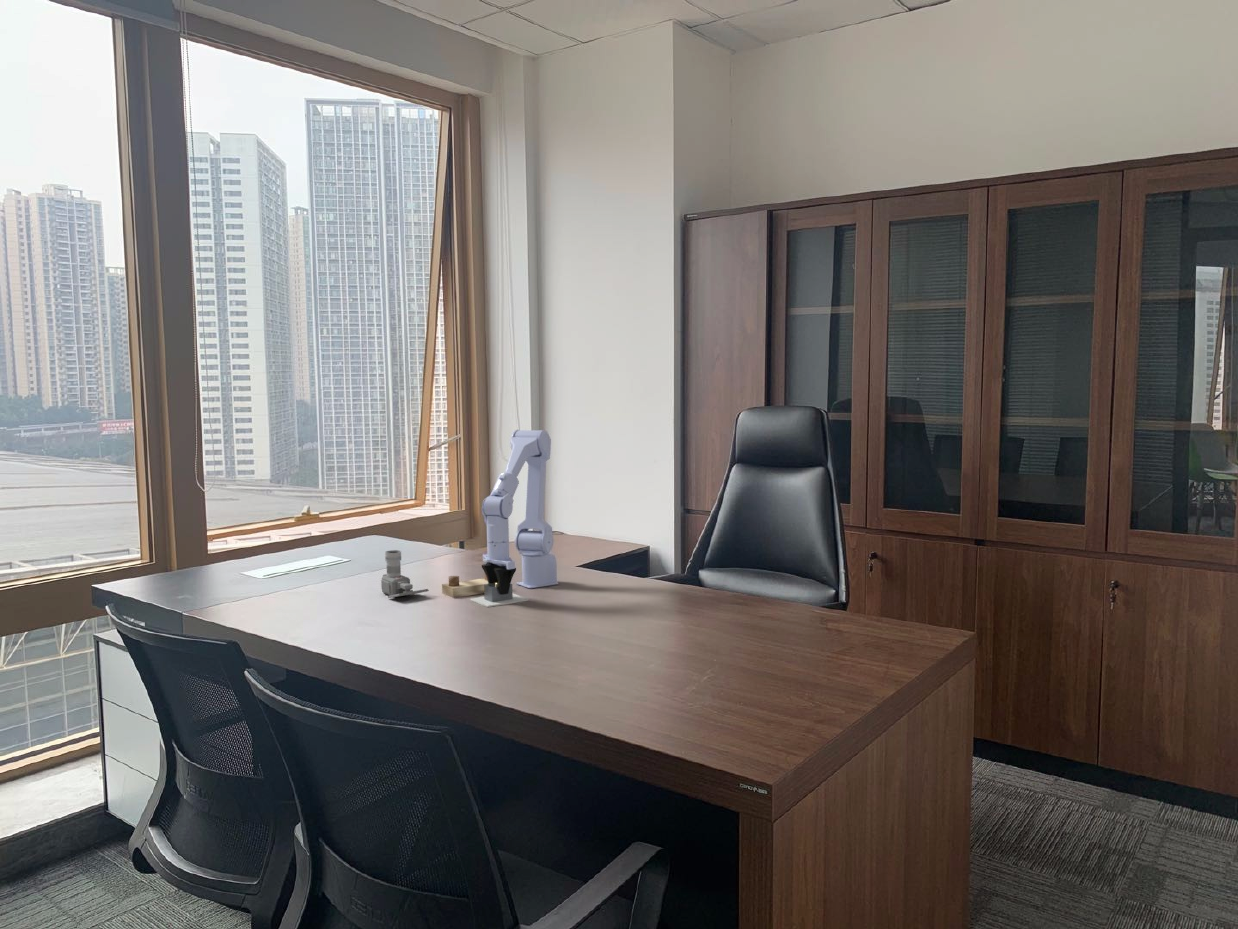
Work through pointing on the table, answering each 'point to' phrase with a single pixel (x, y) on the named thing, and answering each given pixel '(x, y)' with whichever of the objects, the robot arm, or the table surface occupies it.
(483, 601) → the felt mat
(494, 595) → the lever cap
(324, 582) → the table surface
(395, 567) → the camera
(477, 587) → the body
